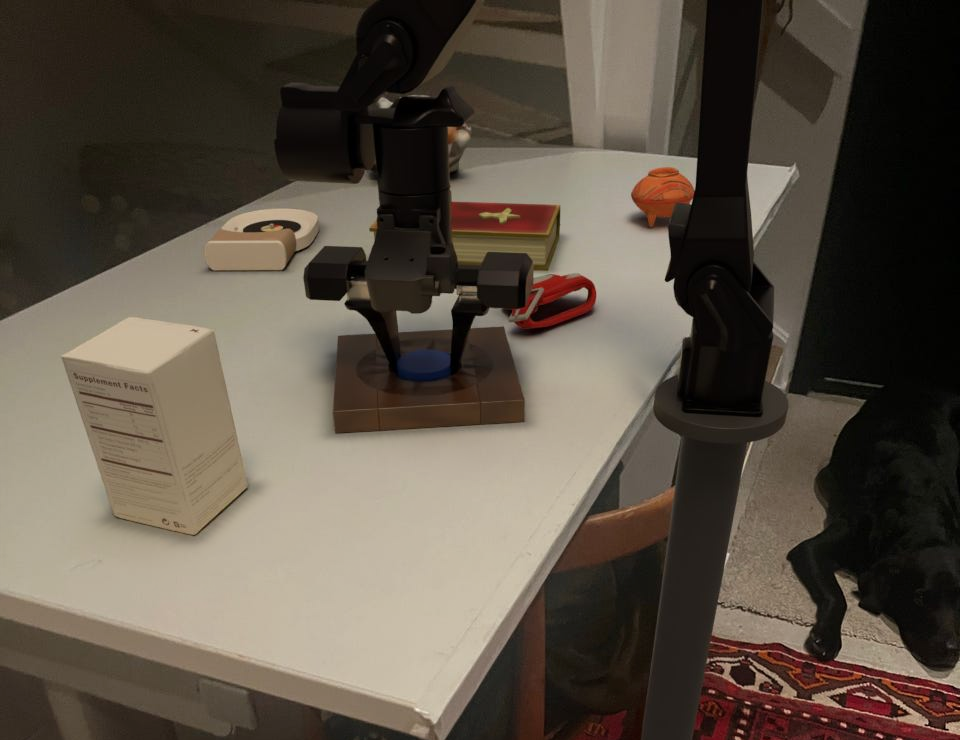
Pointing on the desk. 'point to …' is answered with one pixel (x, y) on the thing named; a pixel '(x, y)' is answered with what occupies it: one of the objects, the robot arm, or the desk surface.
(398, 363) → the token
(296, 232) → the record player
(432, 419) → the token holder
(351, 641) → the desk surface
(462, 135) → the lucky cat figurine
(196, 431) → the white packaging box
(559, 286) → the red belt with buckle
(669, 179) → the orange footed clay pot
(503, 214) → the hardcover book
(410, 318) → the desk surface
